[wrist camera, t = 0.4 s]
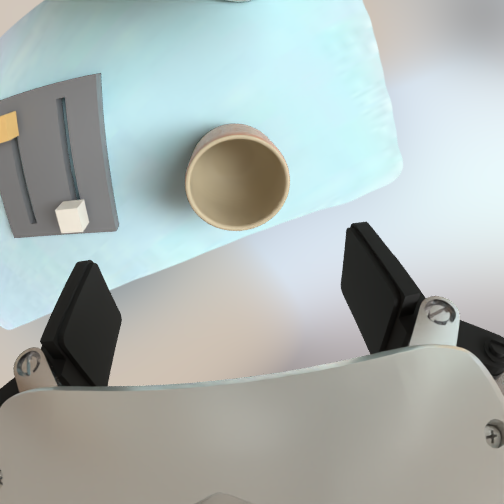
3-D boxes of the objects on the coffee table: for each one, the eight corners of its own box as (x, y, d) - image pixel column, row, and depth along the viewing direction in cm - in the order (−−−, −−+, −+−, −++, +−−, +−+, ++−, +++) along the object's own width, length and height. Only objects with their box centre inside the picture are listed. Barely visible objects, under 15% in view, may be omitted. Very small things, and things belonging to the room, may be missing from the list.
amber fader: (6, 113, 33) (-13, 121, 28) (23, 107, 33) (5, 115, 29) (9, 135, 35) (-9, 145, 31) (26, 131, 35) (8, 140, 31)
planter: (212, 208, 48) (213, 246, 39) (176, 140, 41) (165, 163, 33) (286, 177, 47) (304, 208, 38) (256, 104, 40) (268, 116, 31)
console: (-10, 104, 31) (-16, 106, 30) (100, 73, 34) (96, 73, 32) (19, 232, 46) (14, 238, 44) (119, 225, 48) (116, 231, 46)
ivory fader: (68, 195, 43) (55, 210, 38) (89, 192, 43) (77, 208, 39) (73, 216, 45) (61, 233, 41) (93, 215, 46) (82, 231, 41)
